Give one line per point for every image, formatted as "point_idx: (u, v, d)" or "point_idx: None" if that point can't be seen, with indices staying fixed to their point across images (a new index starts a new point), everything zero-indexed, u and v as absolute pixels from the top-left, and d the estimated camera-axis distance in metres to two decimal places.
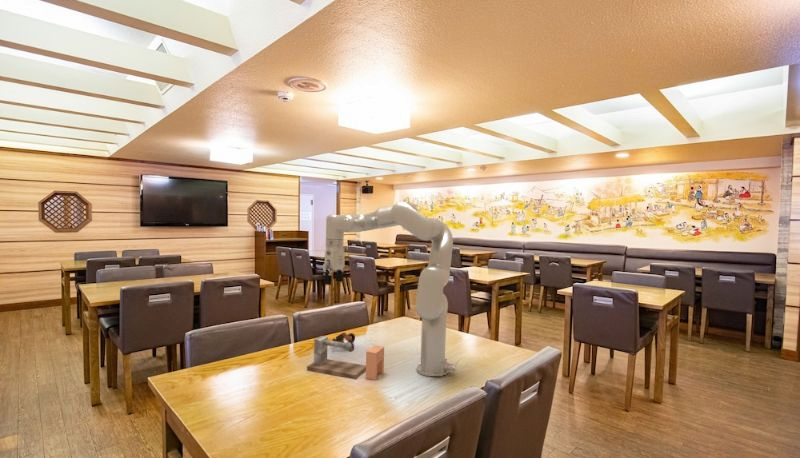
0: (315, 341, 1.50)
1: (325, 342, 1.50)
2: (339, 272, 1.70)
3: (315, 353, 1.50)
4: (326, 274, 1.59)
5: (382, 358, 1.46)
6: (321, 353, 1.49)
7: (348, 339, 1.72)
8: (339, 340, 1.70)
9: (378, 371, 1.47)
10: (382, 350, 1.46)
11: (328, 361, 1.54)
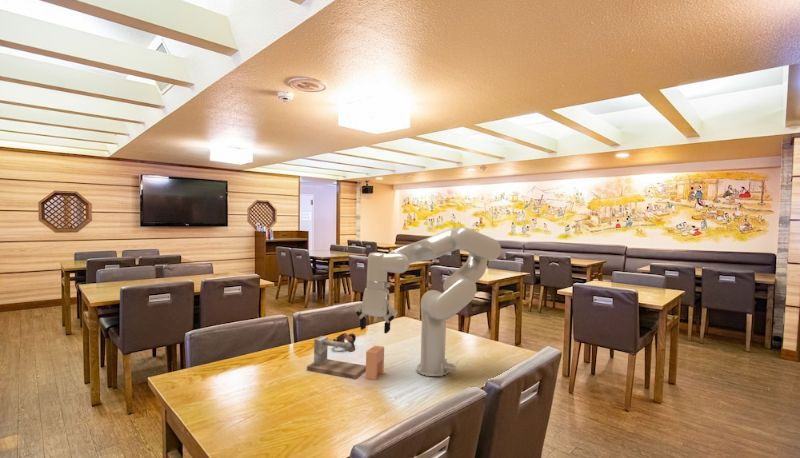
0: (315, 341, 1.50)
1: (325, 342, 1.50)
2: (364, 318, 1.46)
3: (315, 353, 1.50)
4: (390, 321, 1.42)
5: (382, 358, 1.46)
6: (321, 353, 1.49)
7: (349, 339, 1.71)
8: (340, 340, 1.70)
9: (378, 371, 1.47)
10: (382, 350, 1.46)
11: (328, 361, 1.54)
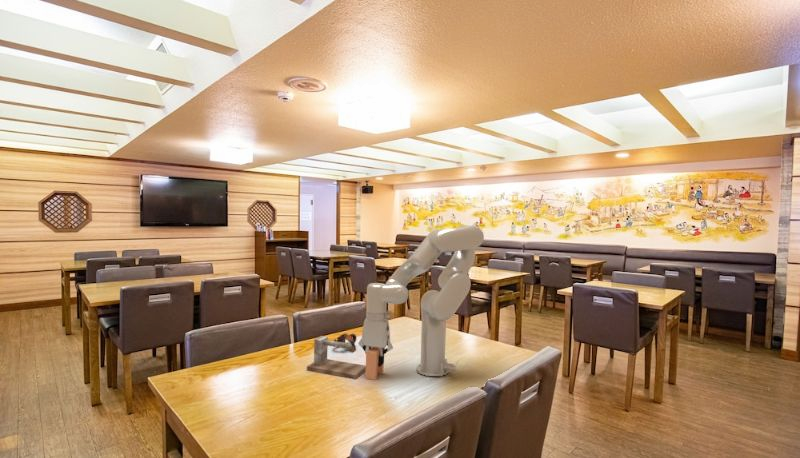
0: (315, 341, 1.50)
1: (325, 342, 1.50)
2: None
3: (315, 353, 1.50)
4: None
5: None
6: (321, 353, 1.49)
7: (350, 340, 1.71)
8: (341, 341, 1.69)
9: (378, 371, 1.47)
10: None
11: (328, 361, 1.54)
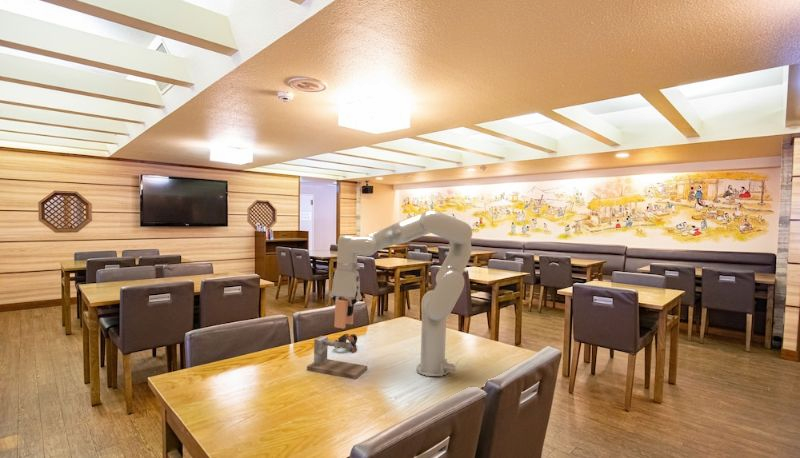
0: (315, 341, 1.50)
1: (325, 342, 1.50)
2: None
3: (315, 353, 1.50)
4: (353, 304, 1.47)
5: None
6: (321, 353, 1.49)
7: (351, 340, 1.70)
8: (342, 341, 1.69)
9: (347, 322, 1.50)
10: None
11: (328, 361, 1.54)
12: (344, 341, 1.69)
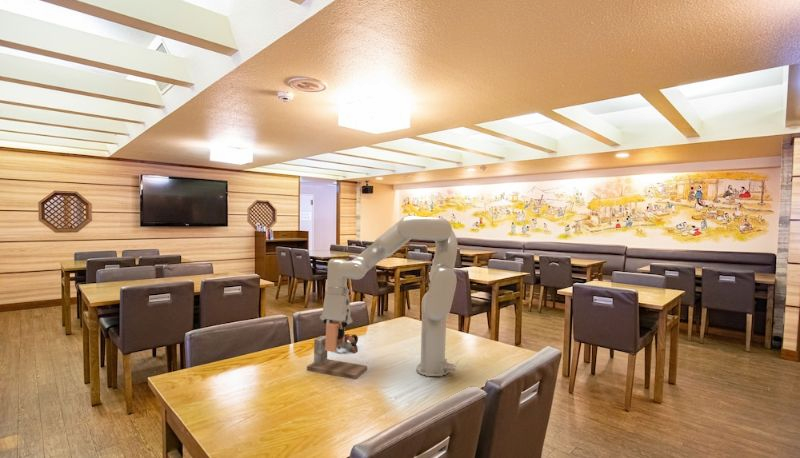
0: (315, 341, 1.50)
1: (325, 342, 1.50)
2: None
3: (315, 353, 1.50)
4: (344, 327, 1.48)
5: None
6: (321, 353, 1.49)
7: (351, 341, 1.70)
8: None
9: None
10: None
11: (328, 361, 1.54)
12: (345, 341, 1.68)
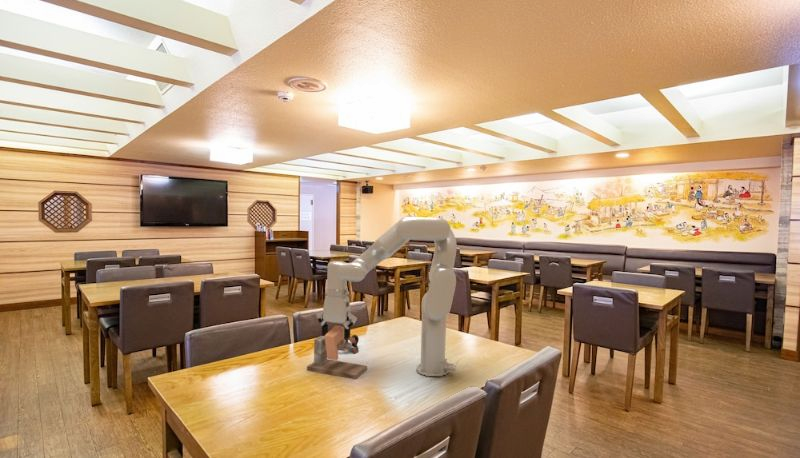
0: (315, 341, 1.50)
1: None
2: (326, 325, 1.51)
3: (315, 353, 1.50)
4: (350, 327, 1.47)
5: (342, 337, 1.51)
6: (321, 353, 1.49)
7: (352, 341, 1.69)
8: None
9: (341, 349, 1.53)
10: (341, 331, 1.50)
11: (328, 361, 1.54)
12: (346, 342, 1.68)
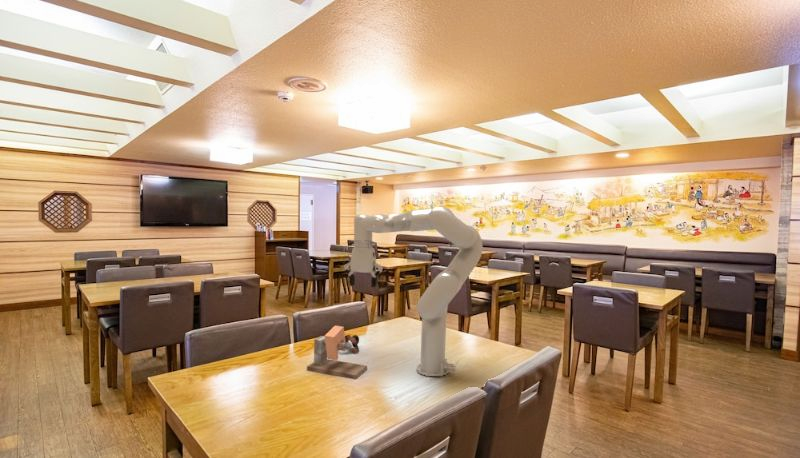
0: (315, 341, 1.50)
1: None
2: (353, 275, 1.61)
3: (315, 353, 1.50)
4: (377, 276, 1.57)
5: (342, 337, 1.51)
6: (321, 353, 1.49)
7: (353, 341, 1.69)
8: None
9: (341, 348, 1.53)
10: (341, 331, 1.50)
11: (328, 361, 1.54)
12: (346, 342, 1.67)
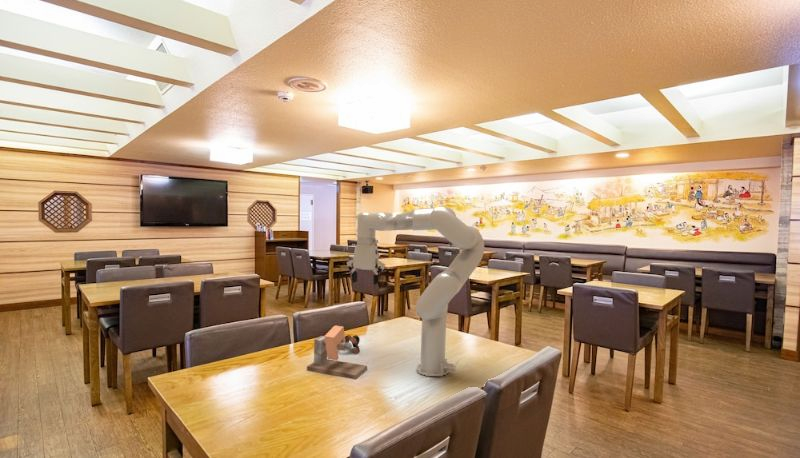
0: (315, 341, 1.50)
1: None
2: (355, 272, 1.62)
3: (315, 353, 1.50)
4: (379, 273, 1.58)
5: (342, 337, 1.51)
6: (321, 353, 1.49)
7: (353, 341, 1.69)
8: None
9: (341, 348, 1.53)
10: (341, 331, 1.50)
11: (328, 361, 1.54)
12: None
